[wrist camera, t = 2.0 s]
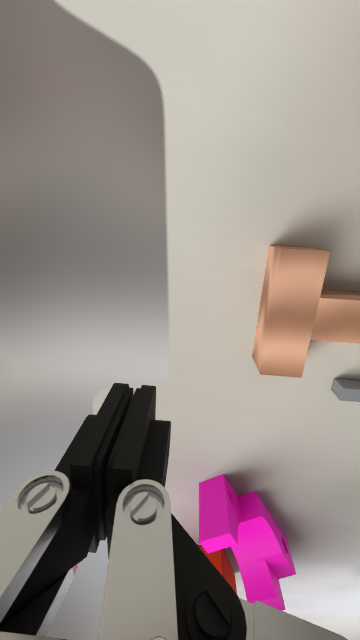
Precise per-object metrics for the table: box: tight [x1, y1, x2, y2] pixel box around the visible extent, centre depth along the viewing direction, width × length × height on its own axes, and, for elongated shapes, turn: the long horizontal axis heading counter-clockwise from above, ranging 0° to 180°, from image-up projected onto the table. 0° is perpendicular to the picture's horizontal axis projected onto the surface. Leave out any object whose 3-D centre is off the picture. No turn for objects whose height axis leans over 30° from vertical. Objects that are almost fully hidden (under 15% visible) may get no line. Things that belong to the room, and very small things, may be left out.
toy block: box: [199, 474, 296, 610], centre depth 34 cm, size 15×6×8 cm, turn 30°
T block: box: [252, 246, 360, 377], centre depth 25 cm, size 12×12×4 cm
